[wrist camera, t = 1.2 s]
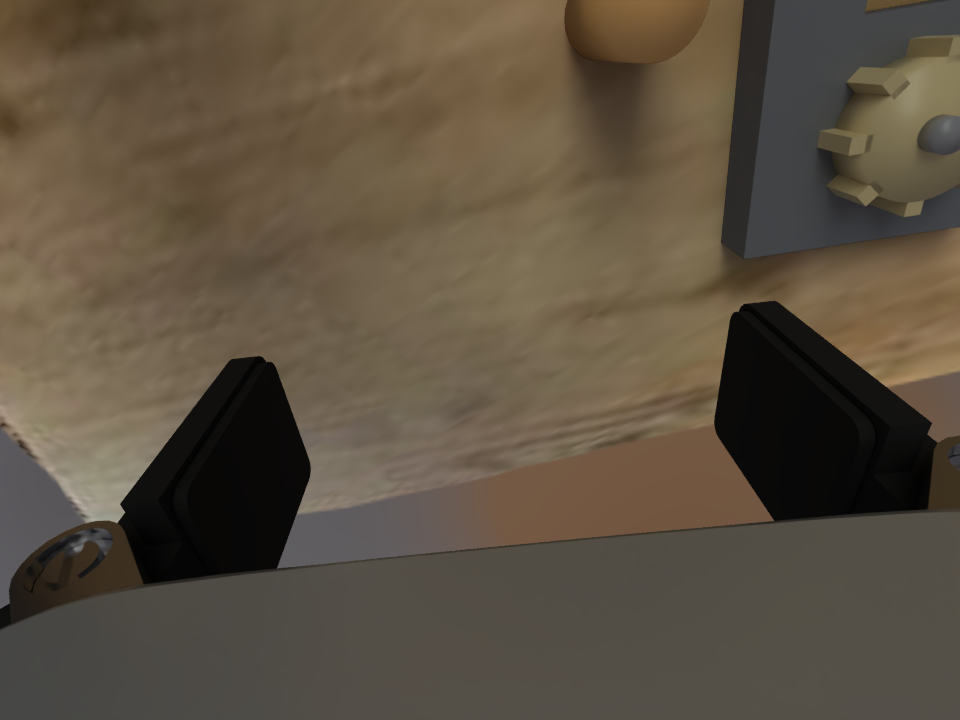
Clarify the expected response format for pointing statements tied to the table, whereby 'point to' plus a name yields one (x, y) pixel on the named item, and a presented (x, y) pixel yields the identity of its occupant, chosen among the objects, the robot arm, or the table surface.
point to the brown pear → (633, 28)
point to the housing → (843, 124)
